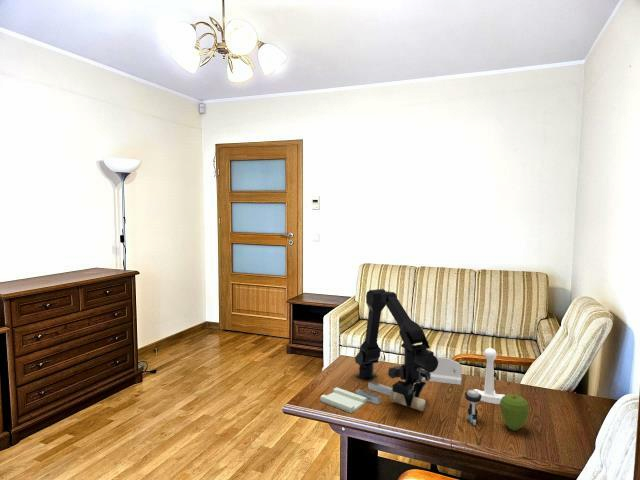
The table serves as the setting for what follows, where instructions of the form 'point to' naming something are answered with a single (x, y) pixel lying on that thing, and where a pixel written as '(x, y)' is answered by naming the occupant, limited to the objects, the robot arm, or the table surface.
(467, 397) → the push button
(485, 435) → the table surface
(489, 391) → the joystick
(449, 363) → the gray wall bracket
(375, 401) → the steel guide
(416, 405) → the maple axle
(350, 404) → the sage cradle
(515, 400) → the apple
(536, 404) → the table surface
